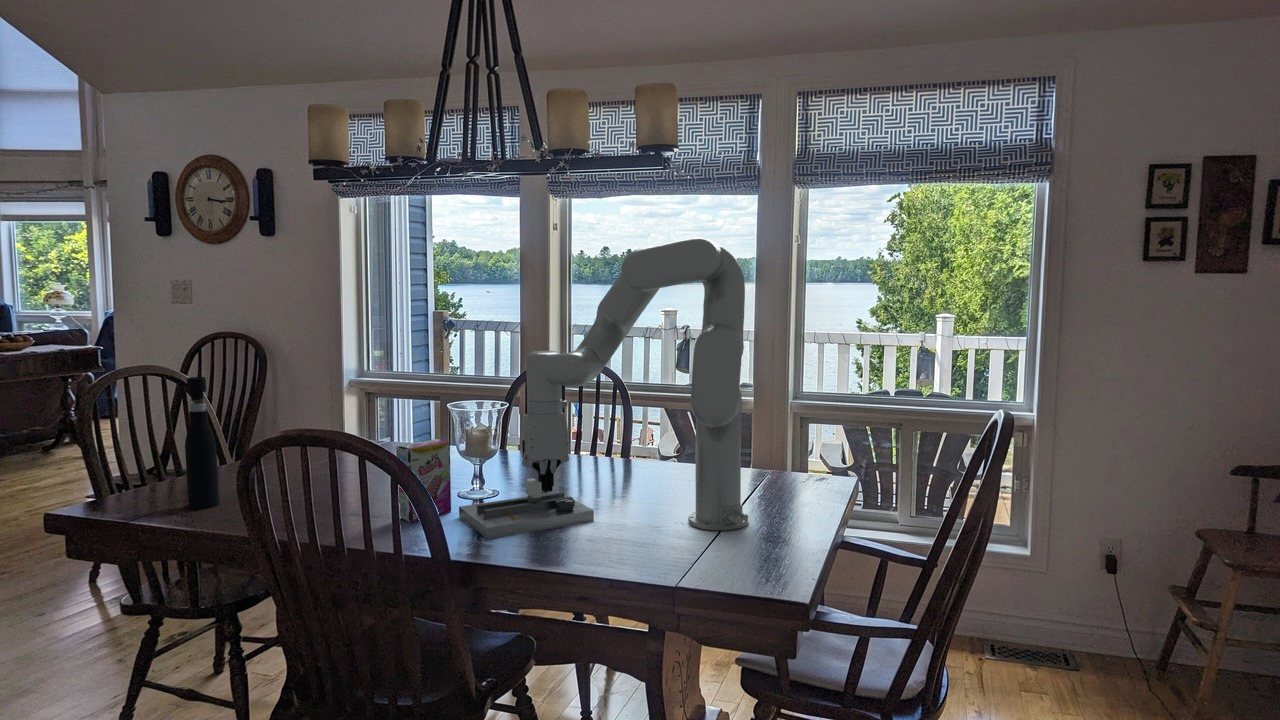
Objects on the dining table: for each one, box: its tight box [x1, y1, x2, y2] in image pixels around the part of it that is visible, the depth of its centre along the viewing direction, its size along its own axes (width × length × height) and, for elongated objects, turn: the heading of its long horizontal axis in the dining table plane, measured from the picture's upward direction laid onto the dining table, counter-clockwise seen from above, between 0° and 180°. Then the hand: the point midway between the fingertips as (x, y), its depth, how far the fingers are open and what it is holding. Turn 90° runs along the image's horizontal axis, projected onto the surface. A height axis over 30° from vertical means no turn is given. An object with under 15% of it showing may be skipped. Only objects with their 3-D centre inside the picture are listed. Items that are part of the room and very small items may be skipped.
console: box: [458, 491, 595, 540], centre depth 185 cm, size 18×24×5 cm
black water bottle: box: [184, 376, 220, 510], centre depth 197 cm, size 6×6×30 cm
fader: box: [525, 477, 543, 503], centre depth 186 cm, size 4×2×6 cm, turn 30°
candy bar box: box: [396, 438, 452, 524], centre depth 188 cm, size 11×5×16 cm, turn 141°
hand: (546, 490), depth 187 cm, fingers closed
